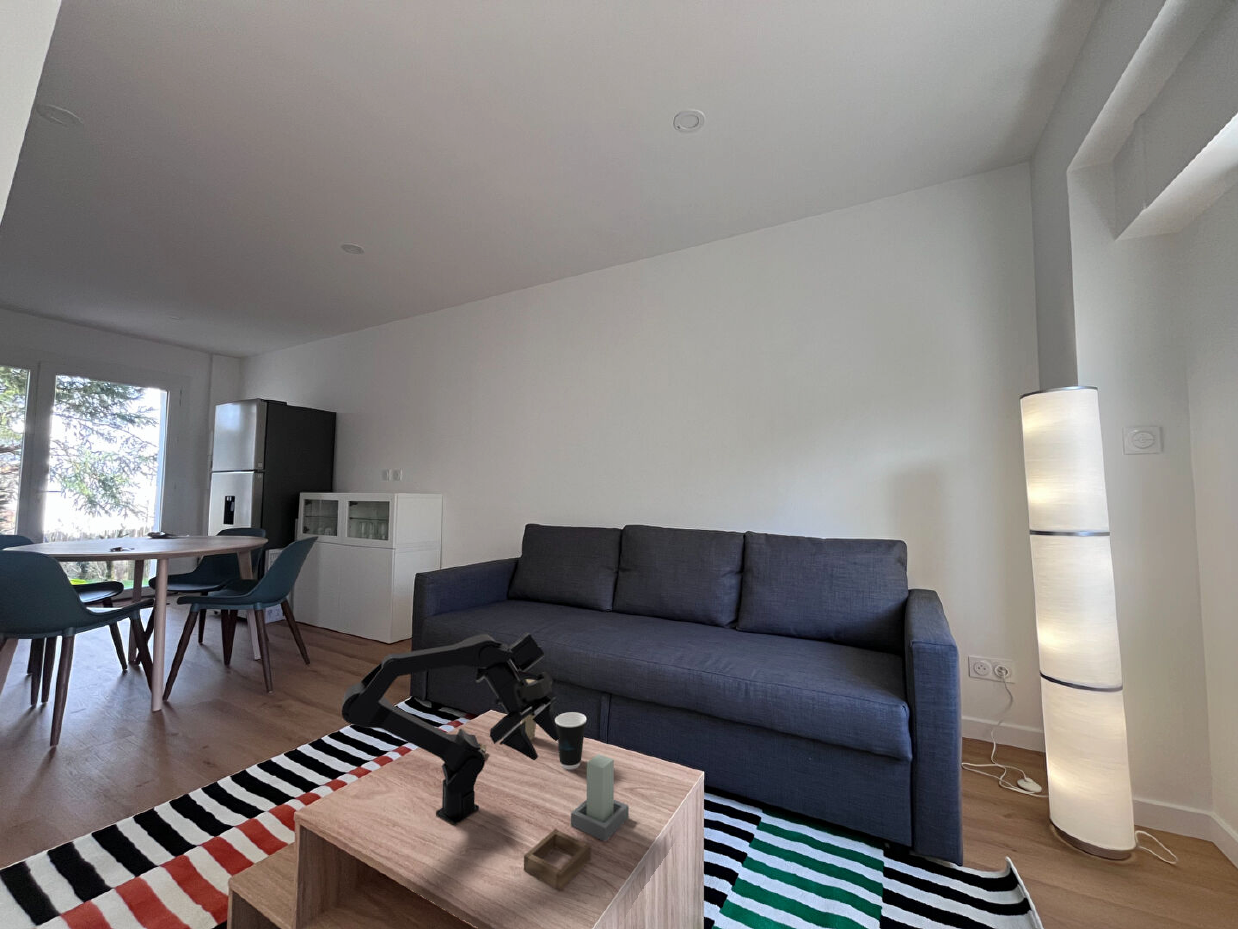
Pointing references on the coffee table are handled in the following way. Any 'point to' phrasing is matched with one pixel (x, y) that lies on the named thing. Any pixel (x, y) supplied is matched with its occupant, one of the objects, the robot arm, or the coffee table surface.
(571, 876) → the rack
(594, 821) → the socket
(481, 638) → the robot arm
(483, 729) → the coffee table surface
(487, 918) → the coffee table surface
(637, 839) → the coffee table surface
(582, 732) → the dixie cup
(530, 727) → the handle
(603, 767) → the peg
